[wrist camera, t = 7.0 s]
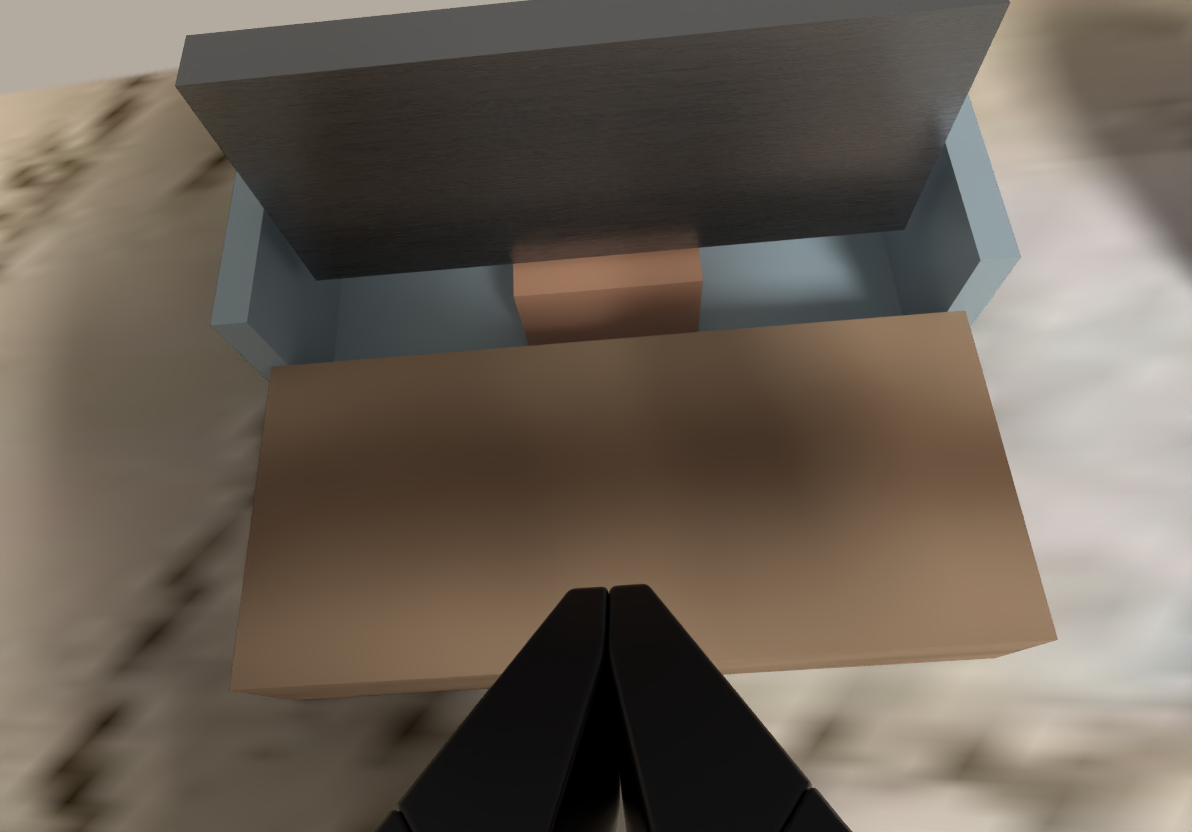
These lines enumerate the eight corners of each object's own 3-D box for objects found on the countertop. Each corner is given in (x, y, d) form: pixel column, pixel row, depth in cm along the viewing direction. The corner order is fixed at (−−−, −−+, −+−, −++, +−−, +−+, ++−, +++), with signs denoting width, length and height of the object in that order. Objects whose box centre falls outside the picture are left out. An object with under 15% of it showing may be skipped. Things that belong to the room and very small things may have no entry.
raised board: (995, 658, 17) (1057, 639, 15) (294, 700, 18) (229, 690, 15) (923, 370, 20) (965, 310, 18) (322, 417, 21) (271, 367, 18)
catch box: (939, 369, 20) (1020, 257, 16) (307, 418, 21) (210, 325, 17) (878, 130, 24) (930, -21, 19) (332, 181, 24) (257, 48, 20)
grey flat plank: (904, 230, 18) (1010, 2, 13) (316, 281, 19) (174, 85, 13) (893, 188, 19) (991, -48, 13) (320, 240, 19) (187, 35, 14)
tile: (698, 333, 21) (702, 281, 18) (529, 346, 21) (513, 296, 19) (682, 197, 22) (684, 134, 20) (527, 211, 23) (512, 150, 20)
